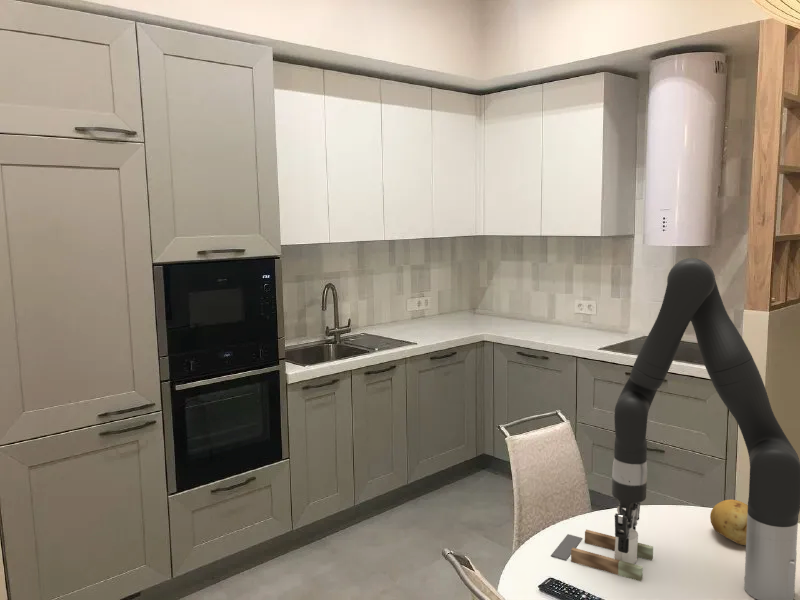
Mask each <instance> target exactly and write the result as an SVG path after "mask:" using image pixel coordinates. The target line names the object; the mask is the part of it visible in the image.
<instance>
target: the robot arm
mask: <svg viewBox="0 0 800 600" xmlns="http://www.w3.org/2000/svg"><path fill="white" fill-rule="evenodd" d="M666 282H667V283H666V287H665V292H664V296H663V300H662V304H661V307H660V309H659V312H658V314H657V317H656V319H655V321H654V323H653V325H652V327H651V329H650V331H649V332H648V334H647V337H646V338H645V340H644V342H643V343H642V346H641V348H640V350H639V352H638V355H637V357H636V359H635V361H634V363H633V365H632V368H631V371H630V374H629V377H628V378H627V381H626V382H625V384H624V387H623V388H622V390H621V392H620V394H619V396H618V399H617V401H616V403H615V406H614V415H613V416H614V420H613V421H614V431H615V432H614V433H615V438H614V450H613V451H614V453H613V454H614V455H613V463H612V475H611V495H612V497H614V498H615V499H616V500H618V501H619V503H618V504H617V509H616V511H617V513H615V514H614V537H618V551H620V552H623V553H628V551H629V537H630V529H631V528H633V529H634V530H636V529H637V528H636V527H637V526H638V521H639V520H640V512H641V511H640V510H641V503H642V502H644V501H645V500H646V499H647V486H648V485H647V484H648V465H647V464H648V463H647V460H648V459H647V455H648V442H647V441H648V440H647V428H648V418H649V411H650V408H651V406H652V403H653V401H654V398H655V396H656V395H657V391H658V389H659V388H661V386H662V385H663V382H664V381H665V378H666V377H667V375H668V372H669V370H670V368H671V366H672V364H673V361H674V359H675V357H676V355H677V351H678V349H679V346H680V344H681V341H682V339H683V337H684V334H685V333H686V330H687V329H688V326H689V324H690V323H691V325H692V328H693V330H694V333H695V338H696V342H697V345H698V349H699V353H700V355H701V358H702V362H703V364H704V368H705V369H706V371H707V375H708V376H709V378H710V381H711V383H712V386H713V387H714V389H715V391H716V393H717V395H718V396H719V397H720V399H721V401H722V403H723V404H724V406H725V407H726V408H727V409H728V411H729V413H730V414H731V415H732V416H733V419H734V420H735V421H736V423H737V425H738V427H739V430H740V432H741V435H742V438H743V441H744V443H745V446H746V450H747V454H748V458H749V459H748V460H749V479H748V481H749V483H748V484H749V486H748V501H747V505H748V513H747V534H746V545H745V558H744V559H745V561H744V562H745V563H744V579H743V580H744V584H743V585H744V586H743V587H744V590H745V592H746V593H747V594H748V595H749V596H750V597H753V598H754V599H756V600H795V591H796V590H795V589H796V572H797V571H796V570H797V554H798V553H797V552H798V551H797V545H798V543H797V542H798V527H799V525H798V524H799V514H800V457H799V455H798V453H797V451H796V450H795V448H794V447H793V446H794V445H792V443H791V442H790V440H789V439H788V438H787V436H786V435H787V434H786V433H785V432H784V430H783V428H782V426H781V425H780V423H779V421H778V420H777V418H776V416H775V414H774V412H773V409H772V406H771V403H770V399H769V395H768V392H767V388H766V386H765V384H764V381H763V379H762V375H761V372H760V371H759V369H758V366H757V364H756V362H755V359H754V358H753V355H752V353H751V352H750V350H749V348H748V346H747V344H746V342H745V340H744V339H743V337H742V335H741V334H740V331H739V330H738V329H737V327H736V325H735V324H734V322H733V320H732V319H731V317H730V315H729V314H728V311H727V310H726V307H725V305H724V302H723V300H722V296H721V293H720V291H719V288H718V284H717V281H716V275H715V272H714V270H713V268H712V266H710V264H708V263H707V262H706V261H704V260H702V259H699V258H695V257H694V258H693V257H690V258H685V259H682V260H680V261H677V262H676V263H675V264H674V265H673V266H672V268H671V269H670V270H669V273H668V275H667V280H666ZM627 522H630V524H627ZM621 530H623V531H624V532H622V531H621ZM636 531H637V530H636Z"/></svg>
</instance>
